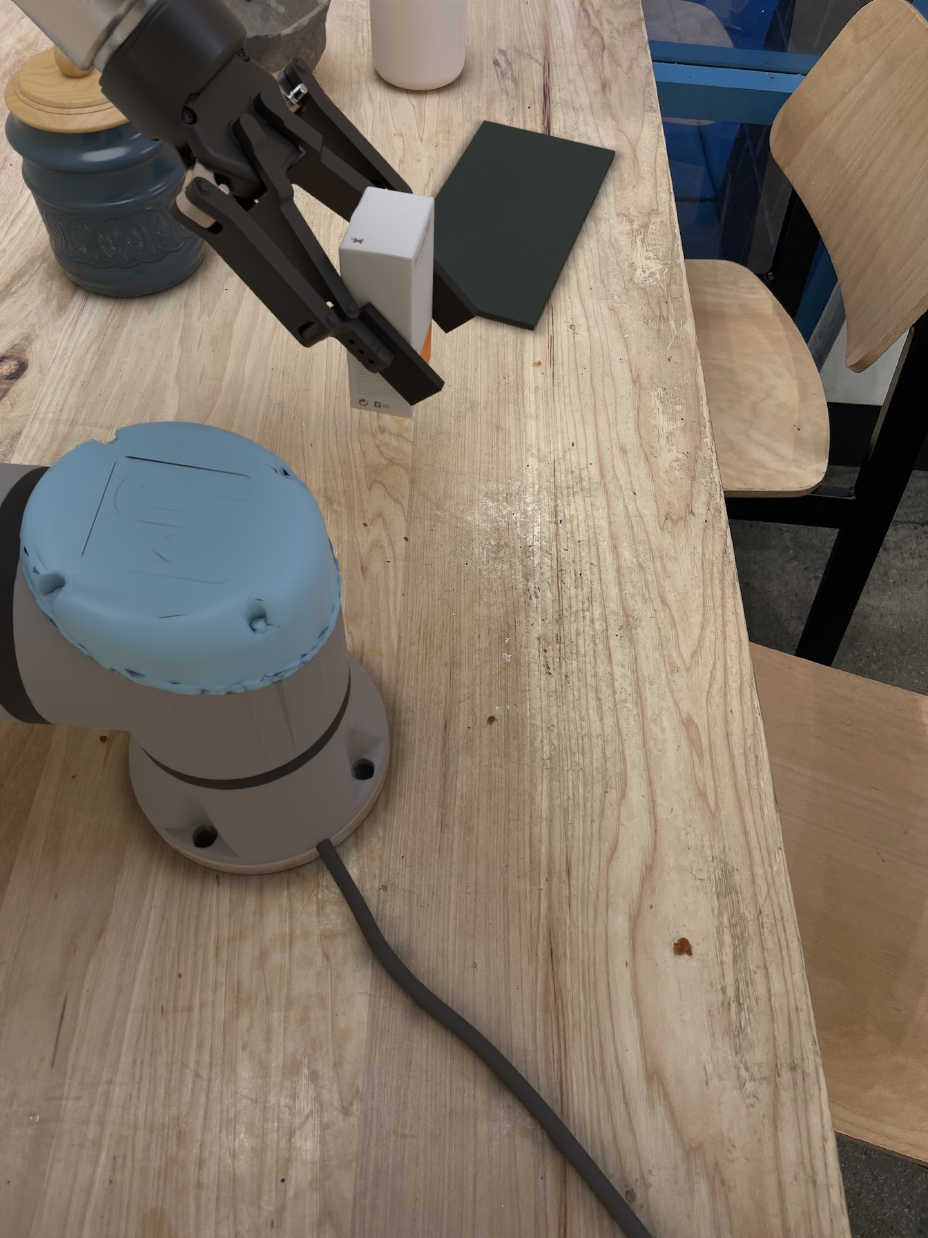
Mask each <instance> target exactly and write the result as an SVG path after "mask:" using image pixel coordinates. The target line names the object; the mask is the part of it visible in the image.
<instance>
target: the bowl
mask: <svg viewBox="0 0 928 1238" xmlns="http://www.w3.org/2000/svg"><path fill="white" fill-rule="evenodd" d="M223 1H224V2H225V4H226V5H227V6H228V7H229V8H230V10H231V11H232V12H233V13H234V14H235V15H236V17H237V18H238V19H239V20H240V21H241V22H242V24H243V25H244V26H245V28H246V31H247V40H246V43H245V44H244V46H243V49H244V51H245V53H246V54H247V55H248V56H249V57H250V58H251V59H252V60H253V61H254V62H256V63H257V64H258V65H260V66H262V67H263V68H265V69H266V70H268V71H269V72H270V73H271V74H273V73H275V72H278V71H280V70H282V69H283V68H284V67H285V66H286V65H287V64H288V63H289V61H290V60H291V59H292V58H293V57H294V56H298V57H300V58H302V59H303V60H304V61H305V62H306V64H307V65H308V67H309V68H310V70H311V72H312V73H313V72H314V71H315V69H316V67H317V65H318V64H319V62H320V61H321V59H322V56H323V54H324V52H325V50H326V47H327V26H326V23H327V17H328V12H329V9H330V6H331V2H332V0H313V1H300V0H265V1H264V2H263V3H249V2H246V1H245V0H223Z"/></svg>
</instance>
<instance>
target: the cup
mask: <svg viewBox="0 0 928 1238" xmlns="http://www.w3.org/2000/svg"><path fill="white" fill-rule="evenodd" d="M368 3H369V21H370V23H369V24H370V42H371V43H370V44H371V46H370V47H371V61H372V65H373V67H374V69H375V71H376V72H377V74H378V75H379V76H380V77H381V78H382V79H383V80H385V82H387V83H389V84H391V85H393V86H395V87H398V88H401V89H405V90H410V91H430V90H436V89H439V88H443V87H445V86H446V85H449V84H451V83H452V82H454V81H455V80H456V79H457V78H458V77H459V76H460V75H461V74H462V71H463V69H464V66H465V61H466V42H467V41H466V39H467V15H468V13H467V12H468V0H369V1H368Z"/></svg>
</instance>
